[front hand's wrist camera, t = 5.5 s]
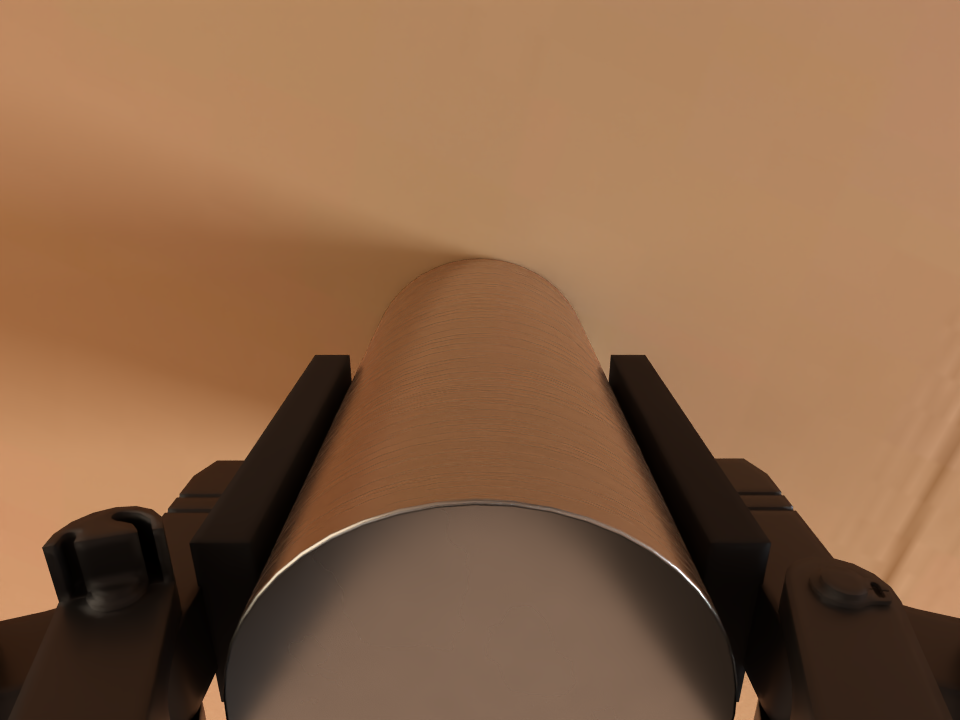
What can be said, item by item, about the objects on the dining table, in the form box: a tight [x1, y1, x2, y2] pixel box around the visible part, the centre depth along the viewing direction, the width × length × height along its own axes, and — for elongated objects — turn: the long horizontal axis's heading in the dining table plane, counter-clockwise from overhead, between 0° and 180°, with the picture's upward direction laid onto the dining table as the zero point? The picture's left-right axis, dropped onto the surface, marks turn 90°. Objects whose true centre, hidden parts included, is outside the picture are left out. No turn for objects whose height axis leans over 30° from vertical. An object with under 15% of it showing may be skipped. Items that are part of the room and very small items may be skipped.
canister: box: [223, 259, 737, 720], centre depth 12 cm, size 6×6×11 cm
